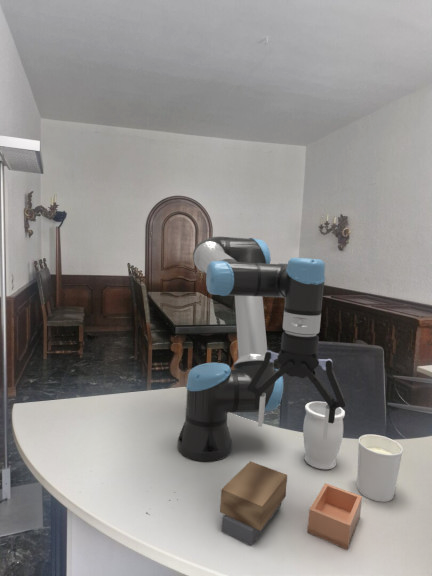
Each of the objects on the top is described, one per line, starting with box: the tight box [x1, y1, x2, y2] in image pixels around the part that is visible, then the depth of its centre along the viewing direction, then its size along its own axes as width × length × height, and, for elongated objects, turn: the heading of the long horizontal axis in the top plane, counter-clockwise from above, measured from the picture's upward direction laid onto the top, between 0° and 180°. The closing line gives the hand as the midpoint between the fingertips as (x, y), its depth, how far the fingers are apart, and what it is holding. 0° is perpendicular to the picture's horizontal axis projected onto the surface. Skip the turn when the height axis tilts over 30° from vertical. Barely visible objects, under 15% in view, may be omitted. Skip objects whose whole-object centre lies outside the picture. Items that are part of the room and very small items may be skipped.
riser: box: [221, 502, 282, 546], centre depth 84 cm, size 7×15×3 cm, turn 149°
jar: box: [302, 401, 346, 471], centre depth 107 cm, size 11×10×15 cm
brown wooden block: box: [219, 460, 288, 531], centre depth 84 cm, size 9×13×5 cm
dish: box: [307, 483, 363, 551], centre depth 83 cm, size 8×11×5 cm
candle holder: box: [356, 433, 404, 503], centre depth 95 cm, size 10×10×12 cm
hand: (292, 430), depth 85 cm, fingers open, 13 cm apart
